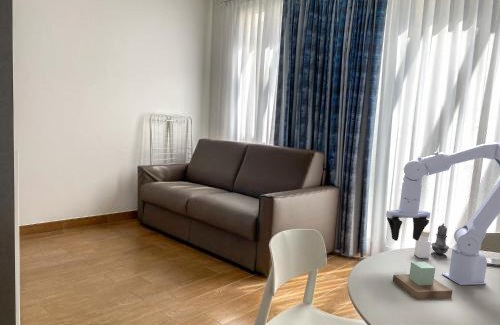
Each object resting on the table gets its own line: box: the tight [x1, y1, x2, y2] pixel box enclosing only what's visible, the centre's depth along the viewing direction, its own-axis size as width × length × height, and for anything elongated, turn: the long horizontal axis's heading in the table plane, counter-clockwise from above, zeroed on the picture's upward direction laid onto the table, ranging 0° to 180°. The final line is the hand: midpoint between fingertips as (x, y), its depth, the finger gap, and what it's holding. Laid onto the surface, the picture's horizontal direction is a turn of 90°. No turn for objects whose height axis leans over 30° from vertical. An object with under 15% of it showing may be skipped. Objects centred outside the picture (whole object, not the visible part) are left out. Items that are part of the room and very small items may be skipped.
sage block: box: [409, 261, 436, 285], centre depth 110 cm, size 4×4×5 cm
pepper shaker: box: [413, 229, 432, 259], centre depth 137 cm, size 4×4×10 cm
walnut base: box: [392, 273, 453, 300], centre depth 110 cm, size 11×11×2 cm
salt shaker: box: [430, 223, 450, 259], centre depth 139 cm, size 6×6×12 cm
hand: (405, 239), depth 124 cm, fingers open, 7 cm apart
